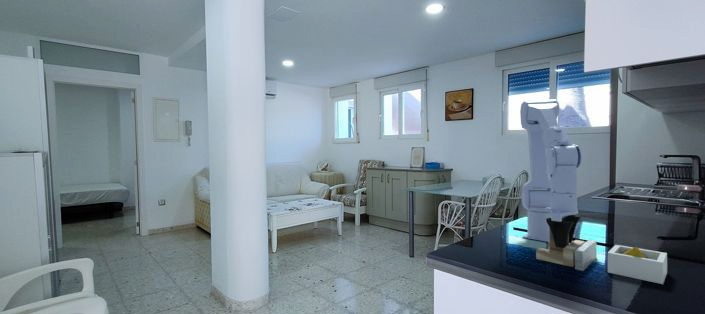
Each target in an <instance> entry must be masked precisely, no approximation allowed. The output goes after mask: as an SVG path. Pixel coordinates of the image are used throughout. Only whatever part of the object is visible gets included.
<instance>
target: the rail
mask: <svg viewBox="0 0 705 314" xmlns="http://www.w3.org/2000/svg"><path fill="white" fill-rule="evenodd" d="M597 252H598V251H597V240H595V239H588V240H586V241H585V243H584V244H583V245H581V246H580V247H579V248H577V249H576V250H575V266H574V270H576V271H580V272H581V271H582V272H584V271H585V270H586V269H587V268H588V267H589V266H590V265H591V264H592V263H593V262H594V261H595V260H596V259H598V258H597V254H598V253H597Z"/></svg>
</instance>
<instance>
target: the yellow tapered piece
mask: <svg viewBox="0 0 705 314" xmlns="http://www.w3.org/2000/svg"><path fill="white" fill-rule="evenodd" d="M638 248H639V247H638V246H634V247H633V248H632V249H630V250H625V251H623V252H621V253H620V254H624V255H630V256H635V257H641V258H646V259H649V258H648V257H647V256H646V255H645V254H643V253H642V252H641V251H640V250H639V249H640V248H639V249H638Z"/></svg>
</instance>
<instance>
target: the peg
mask: <svg viewBox="0 0 705 314" xmlns="http://www.w3.org/2000/svg"><path fill="white" fill-rule="evenodd" d="M549 229H550V227H549ZM569 244H570V243H569V235H568V242H567V246H568V245H569ZM550 250H554V251H559V252H563V248H559V247H556V246H555V243H554V239H553V235H552V232H551V229H550Z"/></svg>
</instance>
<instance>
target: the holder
mask: <svg viewBox="0 0 705 314" xmlns="http://www.w3.org/2000/svg"><path fill="white" fill-rule="evenodd" d="M632 248H634V247H632V246H626V245H621V244H619V245H618V244H615V245H613V246H612V248H611V249H610V250H609V251H608V252H607V273H609V274H614V275H619V276H623V277H628V278H632V279H637V280H642V281H647V282H652V283H656V284H659V285H660V284H661V285H664V283H665V279H666V278H667V275H668V253H667V252H661V251H656V250H650V249H645V248H640V247H637V248H638V249H639V250H640V251H641V252H642V253H643V254H645V255H646V256H647V257H648V258H649V259H646V258H641V257H635V256H630V255H624V254H620V253H621V252H623V251H625V250H630V249H632Z"/></svg>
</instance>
